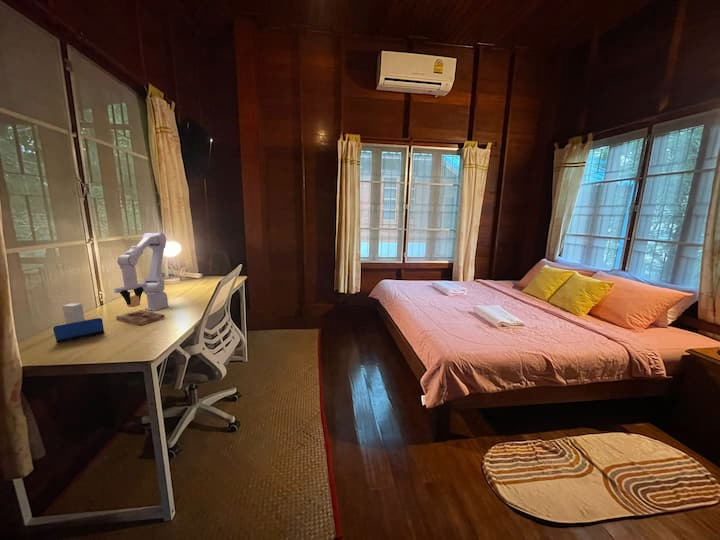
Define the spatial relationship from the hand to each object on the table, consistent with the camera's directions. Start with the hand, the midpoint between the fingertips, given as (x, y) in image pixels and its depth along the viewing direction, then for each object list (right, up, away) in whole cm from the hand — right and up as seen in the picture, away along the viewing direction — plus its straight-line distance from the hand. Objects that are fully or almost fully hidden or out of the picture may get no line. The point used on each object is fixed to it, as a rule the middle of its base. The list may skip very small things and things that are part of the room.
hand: (133, 303), depth 159 cm
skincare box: (-18, -11, -13) cm, 25 cm away
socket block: (+4, -8, 0) cm, 9 cm away
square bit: (0, -1, 0) cm, 2 cm away
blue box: (-6, -13, -23) cm, 27 cm away
